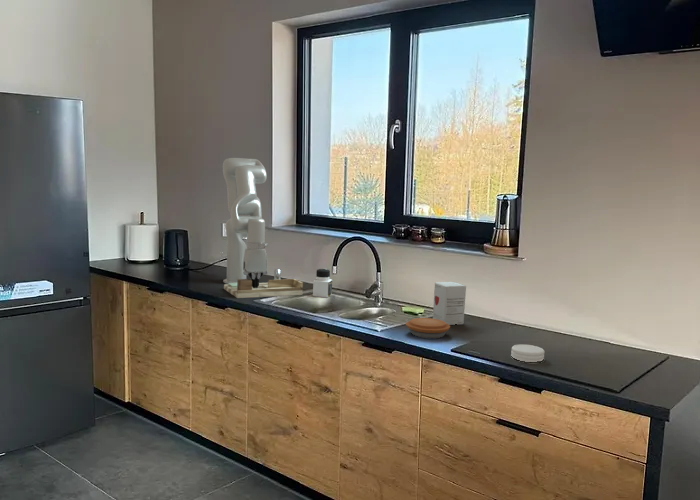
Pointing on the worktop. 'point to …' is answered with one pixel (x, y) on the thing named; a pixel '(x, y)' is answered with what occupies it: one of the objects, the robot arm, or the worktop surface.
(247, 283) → the walnut cube
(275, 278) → the grey metal peg
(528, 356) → the white round container
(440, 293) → the supplement box
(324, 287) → the medicine bottle
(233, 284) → the pad
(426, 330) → the pie
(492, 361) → the worktop surface
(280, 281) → the board
